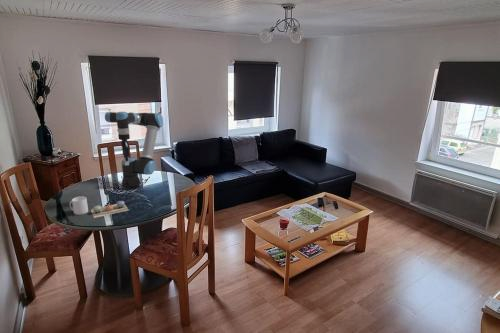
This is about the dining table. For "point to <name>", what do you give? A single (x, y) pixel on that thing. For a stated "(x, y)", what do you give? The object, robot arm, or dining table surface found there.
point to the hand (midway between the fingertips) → (127, 164)
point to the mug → (79, 205)
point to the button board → (104, 212)
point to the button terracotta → (109, 207)
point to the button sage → (97, 209)
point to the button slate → (120, 204)
